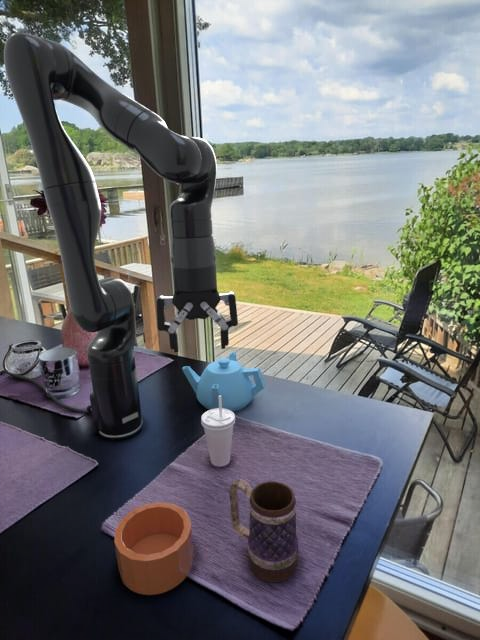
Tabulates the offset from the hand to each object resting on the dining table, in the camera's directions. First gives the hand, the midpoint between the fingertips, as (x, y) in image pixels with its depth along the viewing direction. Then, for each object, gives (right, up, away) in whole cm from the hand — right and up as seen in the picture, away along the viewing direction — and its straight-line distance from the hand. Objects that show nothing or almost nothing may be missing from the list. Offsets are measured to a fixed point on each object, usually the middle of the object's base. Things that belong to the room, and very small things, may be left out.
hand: (199, 349), depth 81 cm
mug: (+11, -29, -18) cm, 36 cm away
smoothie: (+4, -22, +4) cm, 23 cm away
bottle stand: (-5, -29, -18) cm, 35 cm away
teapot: (+4, -14, +26) cm, 30 cm away
